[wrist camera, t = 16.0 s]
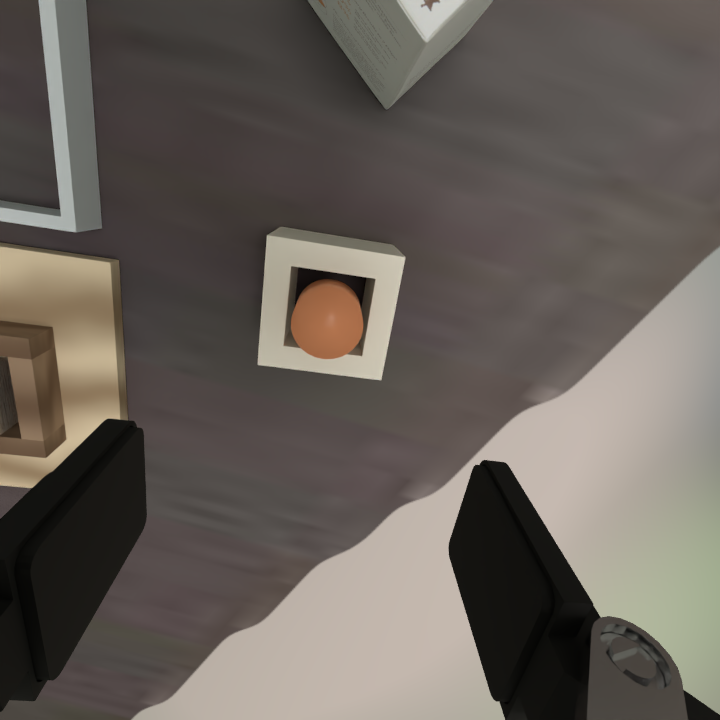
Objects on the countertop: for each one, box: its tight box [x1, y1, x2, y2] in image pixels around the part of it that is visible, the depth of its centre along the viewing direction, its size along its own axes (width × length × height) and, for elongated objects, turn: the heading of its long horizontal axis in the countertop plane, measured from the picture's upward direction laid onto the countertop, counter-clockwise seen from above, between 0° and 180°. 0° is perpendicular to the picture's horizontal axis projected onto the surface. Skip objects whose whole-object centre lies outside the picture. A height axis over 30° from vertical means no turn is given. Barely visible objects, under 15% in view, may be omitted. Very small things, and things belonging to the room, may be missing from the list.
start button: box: [291, 279, 363, 359], centre depth 24 cm, size 4×4×3 cm
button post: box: [258, 227, 405, 380], centre depth 28 cm, size 8×8×6 cm
